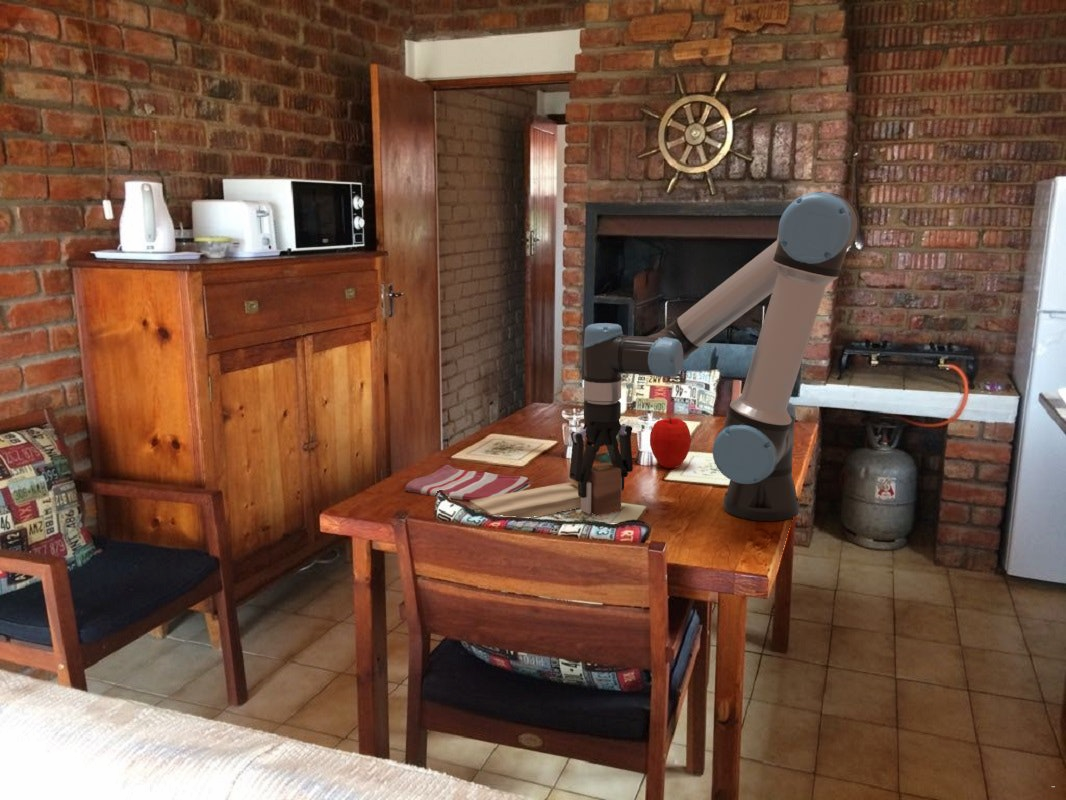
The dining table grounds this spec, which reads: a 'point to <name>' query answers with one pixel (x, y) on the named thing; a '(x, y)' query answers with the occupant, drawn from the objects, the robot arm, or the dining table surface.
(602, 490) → the brown wooden block
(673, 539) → the dining table surface
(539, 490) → the board
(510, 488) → the dish towel
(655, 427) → the apple
